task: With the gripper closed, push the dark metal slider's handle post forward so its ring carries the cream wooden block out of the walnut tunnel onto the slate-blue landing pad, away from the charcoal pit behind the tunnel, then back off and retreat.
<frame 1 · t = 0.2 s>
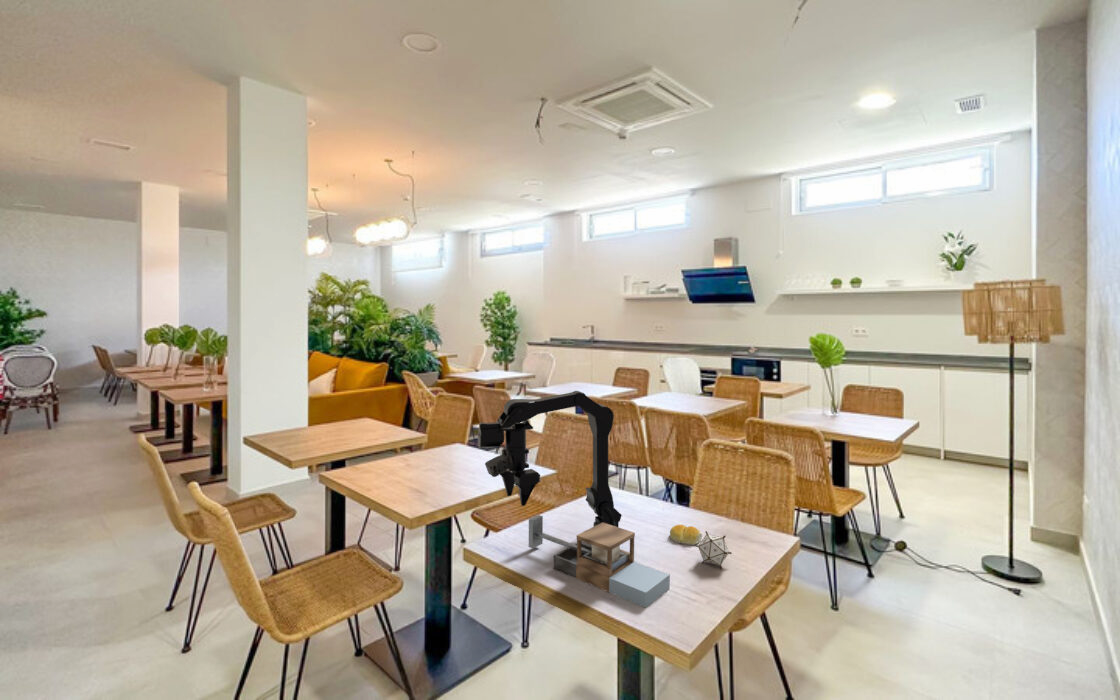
hand: (516, 500, 144), 14 cm above the table, fingers open, 9 cm apart
slider: (573, 545, 136), point 5 cm above the table, slide at 0.0 cm
landing pad: (639, 590, 123), on the table
game die: (713, 564, 137), on the table
tunnel: (605, 576, 130), on the table
block: (605, 563, 130), point 3 cm above the table, touching tunnel
bread roll: (685, 540, 153), on the table
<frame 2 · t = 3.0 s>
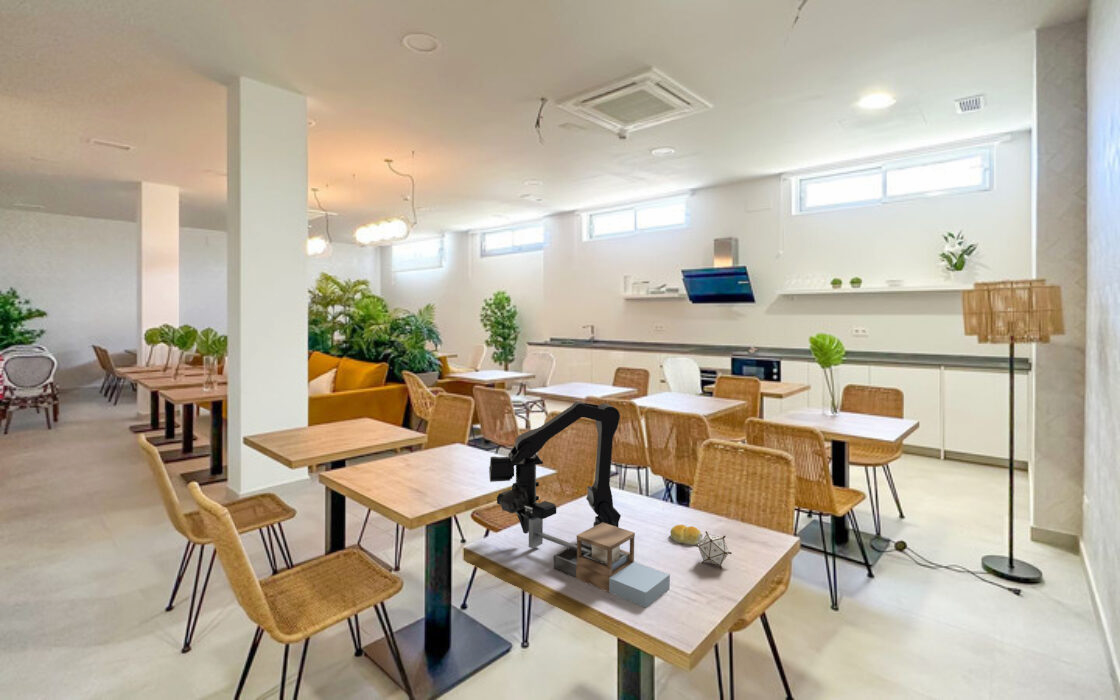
hand: (525, 533, 148), 3 cm above the table, fingers closed
slider: (573, 545, 136), point 5 cm above the table, slide at 0.0 cm, touching gripper
everything else where it was.
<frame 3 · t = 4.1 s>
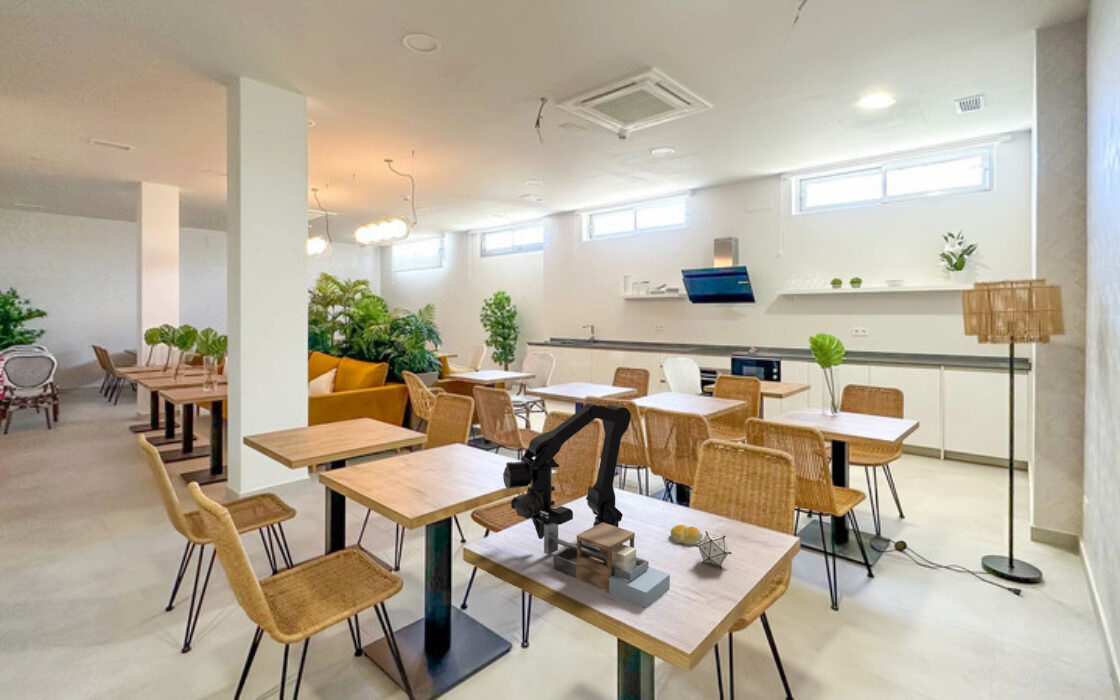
hand: (540, 538, 144), 3 cm above the table, fingers closed
slider: (591, 551, 133), point 5 cm above the table, slide at 5.8 cm, touching gripper
block: (621, 569, 127), point 4 cm above the table
everything else where it was.
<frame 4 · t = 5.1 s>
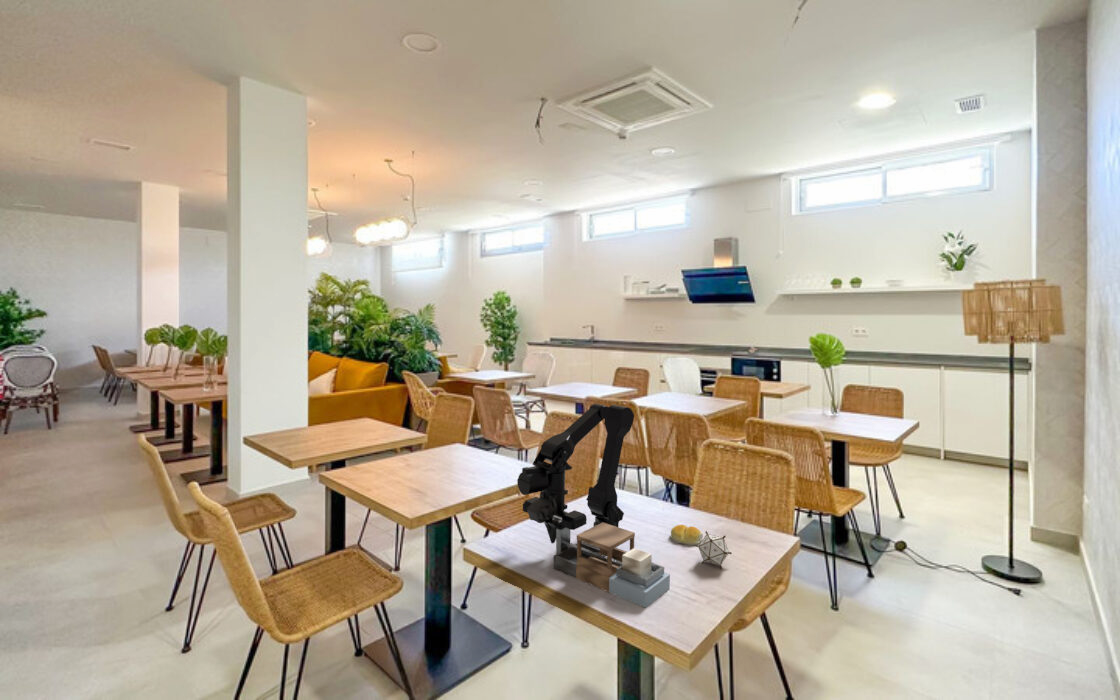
hand: (552, 542, 141), 4 cm above the table, fingers closed
slider: (604, 557, 130), point 5 cm above the table, slide at 10.1 cm, touching gripper
block: (636, 575, 124), point 3 cm above the table, touching landing pad
everything else where it was.
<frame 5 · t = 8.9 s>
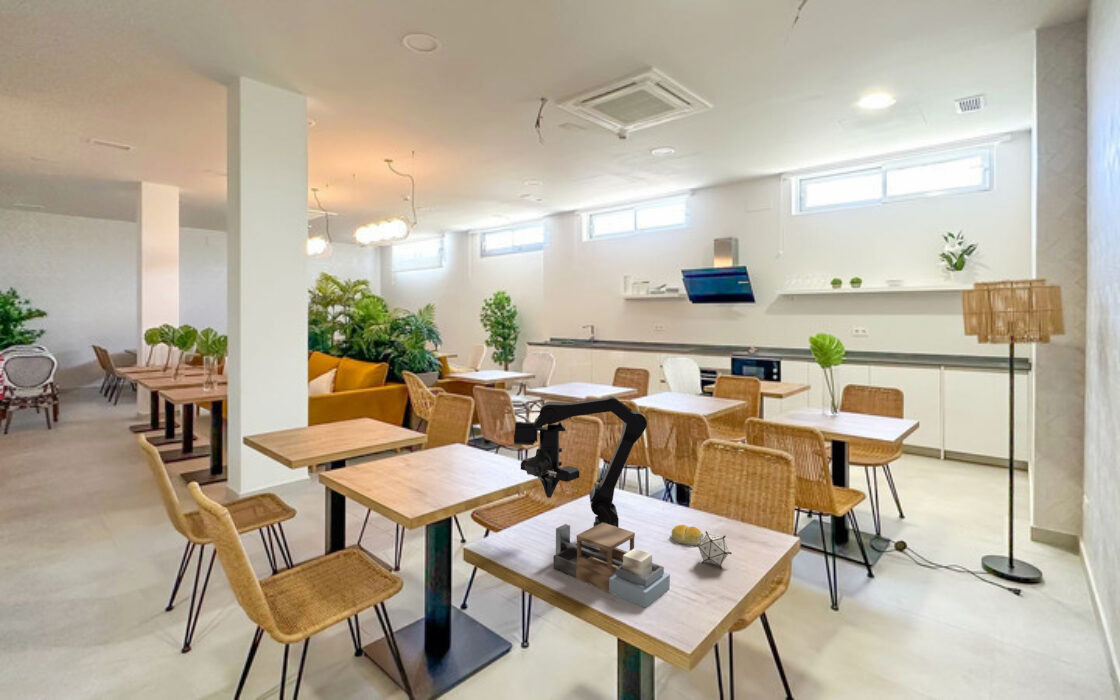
hand: (549, 497, 153), 12 cm above the table, fingers closed
slider: (604, 556, 130), point 5 cm above the table, slide at 10.0 cm
everything else where it was.
at the end: slider slide at 10.0 cm; block 0.7 cm from the landing pad (horizontally); block point 3.5 cm above the table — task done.
